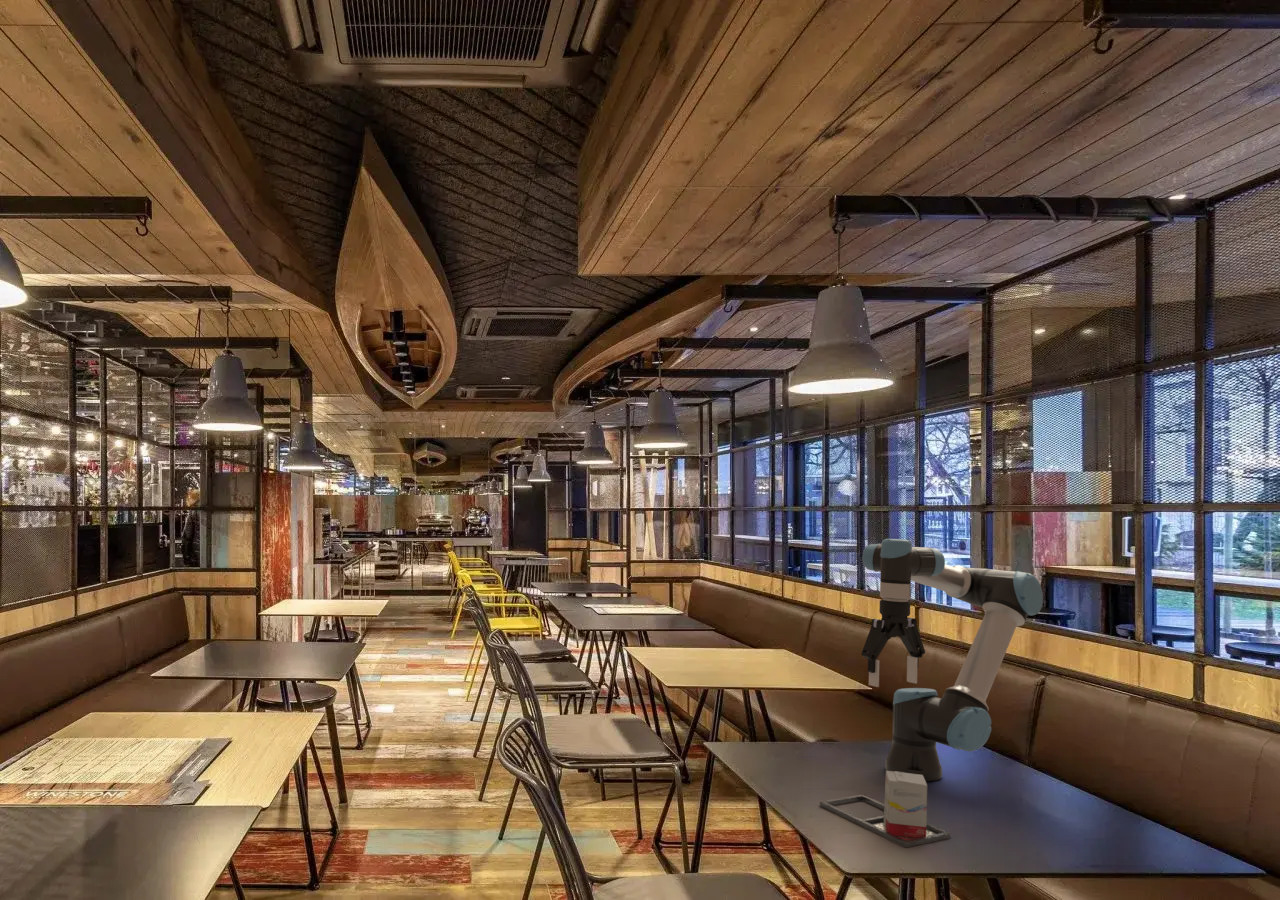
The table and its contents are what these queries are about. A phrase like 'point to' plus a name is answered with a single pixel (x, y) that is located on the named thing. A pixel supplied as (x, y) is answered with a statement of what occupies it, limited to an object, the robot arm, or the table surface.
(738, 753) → the table surface
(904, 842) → the grey flat rectangular frame
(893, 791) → the ink box
